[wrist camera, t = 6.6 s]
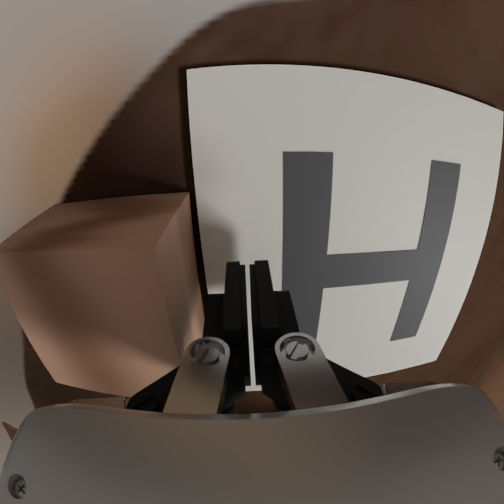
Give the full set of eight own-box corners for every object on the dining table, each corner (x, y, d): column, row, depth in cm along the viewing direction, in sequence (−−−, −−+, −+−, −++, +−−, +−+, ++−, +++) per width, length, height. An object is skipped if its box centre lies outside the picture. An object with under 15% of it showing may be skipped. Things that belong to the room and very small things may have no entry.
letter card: (498, 110, 10) (503, 112, 9) (433, 356, 18) (436, 360, 18) (188, 71, 9) (186, 69, 9) (225, 387, 18) (224, 392, 17)
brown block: (189, 191, 11) (153, 247, 7) (205, 323, 15) (193, 403, 10) (54, 204, 11) (-11, 253, 7) (90, 318, 15) (56, 382, 10)
